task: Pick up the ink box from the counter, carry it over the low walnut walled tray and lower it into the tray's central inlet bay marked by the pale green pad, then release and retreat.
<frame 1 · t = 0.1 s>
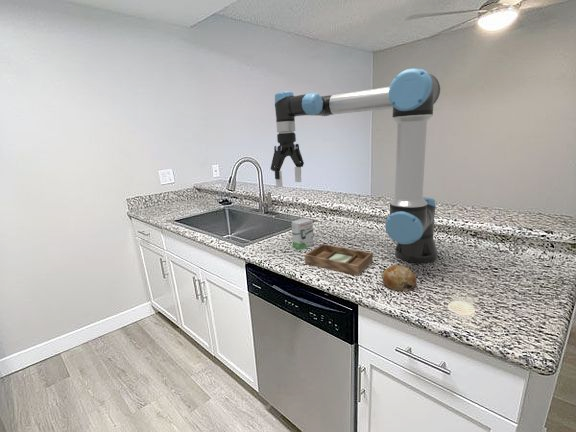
hand: (289, 184, 129), 28 cm above the worktop, fingers open, 13 cm apart
tray: (338, 262, 116), on the worktop
bread roll: (397, 284, 98), on the worktop
ink box: (303, 246, 136), on the worktop
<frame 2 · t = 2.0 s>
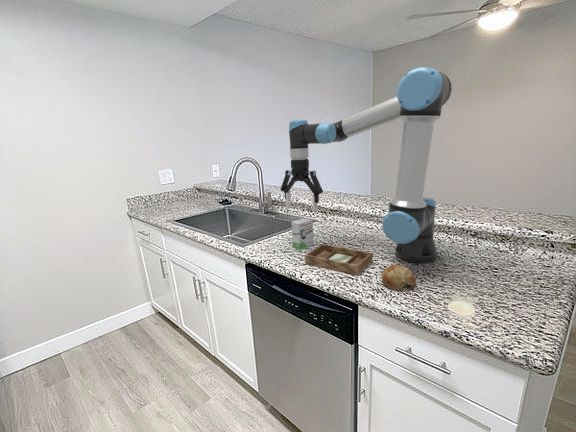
hand: (301, 208, 132), 17 cm above the worktop, fingers open, 13 cm apart
nothing on the worktop moved.
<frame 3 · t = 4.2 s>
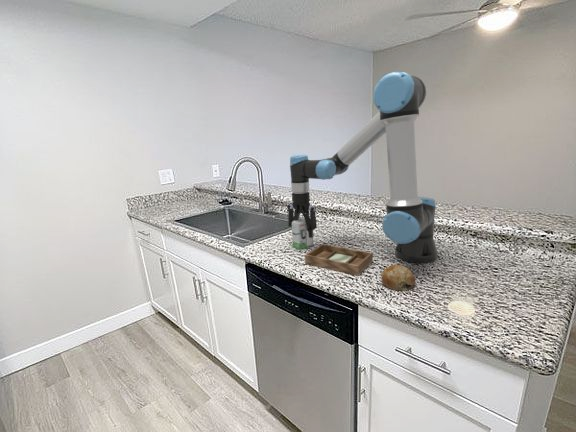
hand: (303, 242, 135), 1 cm above the worktop, fingers closed on ink box, 6 cm apart
ink box: (303, 246, 136), on the worktop, touching gripper
everything else where it was.
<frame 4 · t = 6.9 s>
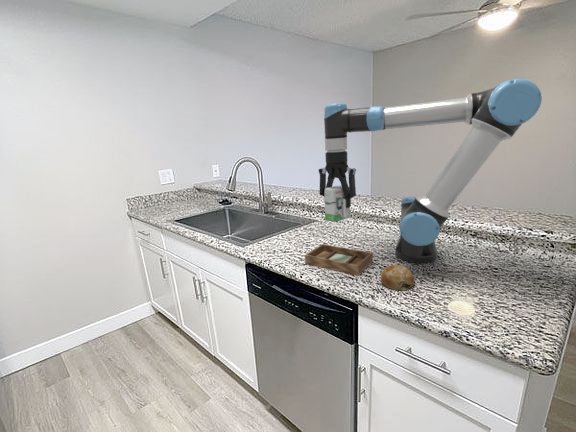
hand: (337, 215, 111), 19 cm above the worktop, fingers closed on ink box, 6 cm apart
ink box: (337, 219, 112), point 17 cm above the worktop, touching gripper
everything else where it was.
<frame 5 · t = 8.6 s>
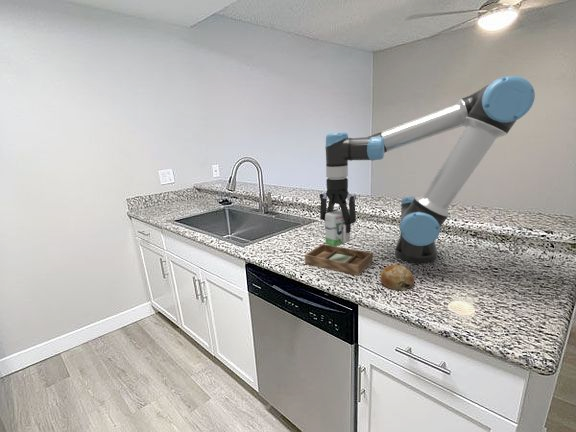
hand: (337, 239, 114), 9 cm above the worktop, fingers closed on ink box, 6 cm apart
ink box: (337, 243, 114), point 8 cm above the worktop, touching gripper
everything else where it was.
when the fingers open (4 cm above the worktop, at t = 10.0 s): ink box drops 1 cm, resting on tray.
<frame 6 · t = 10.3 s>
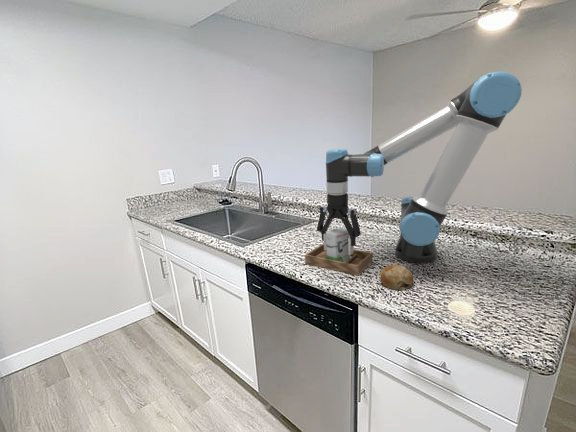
hand: (338, 251, 115), 5 cm above the worktop, fingers open, 9 cm apart
ink box: (338, 260, 116), point 1 cm above the worktop, touching tray
everything else where it was.
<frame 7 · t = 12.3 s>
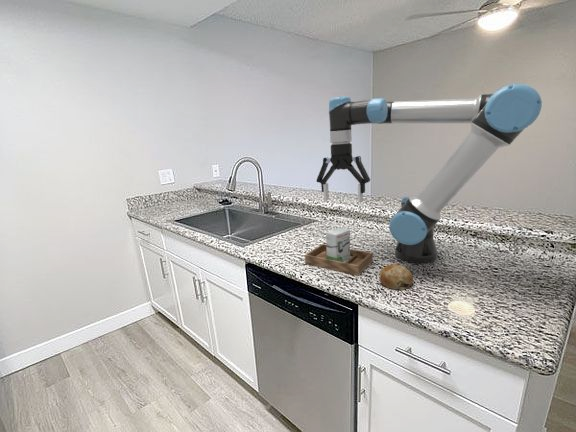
hand: (343, 201, 114), 23 cm above the worktop, fingers open, 13 cm apart
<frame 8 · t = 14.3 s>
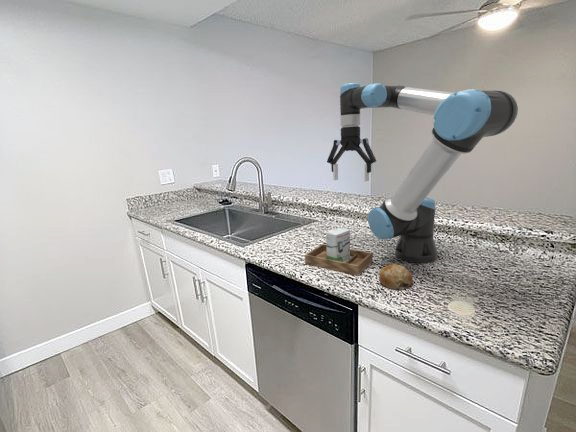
hand: (350, 180, 124), 29 cm above the worktop, fingers open, 13 cm apart
at the end: ink box 0.0 cm off-centre on the tray, point 0.8 cm above the tray's base; ink box tilted 0°; the gripper is holding nothing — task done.
